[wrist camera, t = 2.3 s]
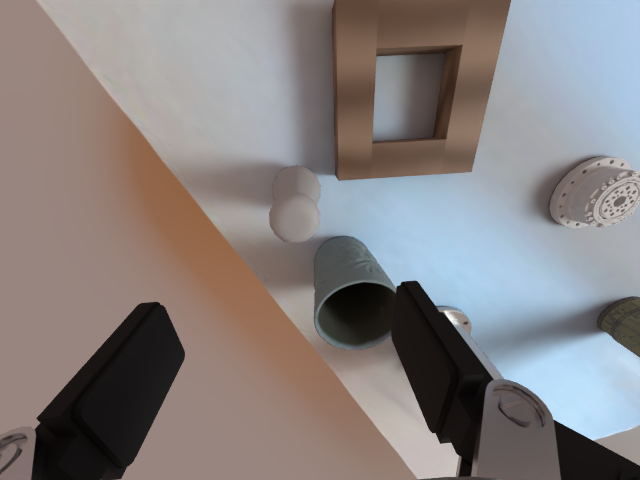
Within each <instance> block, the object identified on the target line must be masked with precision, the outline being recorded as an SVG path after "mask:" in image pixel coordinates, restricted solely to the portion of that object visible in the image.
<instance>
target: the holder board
mask: <svg viewBox="0 0 640 480" xmlns="http://www.w3.org/2000/svg"><path fill="white" fill-rule="evenodd" d="M510 3H511V0H335V1H334V5H333V9H332V33H333V82H334V130H335V176H336V177H337V179H338V180H339V181H340V180H355V179H371V178H386V177H401V176H417V175H432V174H447V173H463V172H472V167H473V163H474V159H475V154H476V150H477V146H478V141H479V137H480V133H481V128H482V124H483V120H484V115H485V111H486V107H487V102H488V98H489V94H490V89H491V85H492V81H493V76H494V72H495V68H496V63H497V59H498V55H499V50H500V46H501V42H502V37H503V33H504V29H505V24H506V20H507V16H508V11H509V7H510ZM433 53H446V56H445V63H444V69H443V76H442V83H441V89H440V96H439V102H438V109H437V116H436V122H435V129H434V136H433V138H423V139H406V140H389V141H372V138H373V116H374V93H375V71H376V56H390V55H412V54H433Z"/></svg>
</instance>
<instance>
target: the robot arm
mask: <svg viewBox="0 0 640 480" xmlns="http://www.w3.org/2000/svg"><path fill="white" fill-rule="evenodd" d="M470 331H471V323H470V321H469V319H468V318H467V316H466V315H465V314H464V313H463V312H462V311H460V310H458V309H456V308H453V307H436V306H435V305H434V303H433V302H432V301H431V299H430V298H429V297H428V295H427V294H426V292H425V291H424V290H423V288H422V287H421V286H420V284H419V283H418V282H417V281H406V282H402V283H401V285H400V286H397V289H396V297H395V305H394V313H393V321H392V329H391V337H392V341H393V343H394V346H395V348H396V351H397V353H398V356H399V358H400V360H401V363H402V365H403V368H404V370H405V372H406V375H407V377H408V380H409V382H410V385H411V387H412V389H413V392H414V394H415V397H416V399H417V401H418V404H419V406H420V409H421V411H422V413H423V416H424V418H425V421H426V423H427V426H428V428H429V430H430V431H431V432H432V433H436V435H437V437H438V440H439V442H440V444H442V443H452V445H453V447H454V449H455V451H456V453H457V454H458V455H459V460H458V466H457V471H456V477H442V478H431V479H419V480H640V466H639V465H637V464H635V463H633V462H632V461H629V460H628V459H626V458H624V457H622V456H620V455H618V454H617V453H615V452H613V451H611V450H609V449H607V448H605V447H604V446H602V445H600V444H598V443H596V442H594V441H592V440H591V439H589V438H587V437H585V436H583V435H581V434H579V433H577V432H576V431H574V430H572V429H570V428H568V427H566V426H564V425H563V424H561V423H559V422H557V421H555V420H553V417H552V414H551V413H550V411H549V409H548V408H547V406H546V405H545V404H544V403H543V401H542V400H541V399H540V398H539V397H538V396H537V395H535V394H534V393H533V392H531V391H530V390H529V389H527V388H526V387H524V386H522V385H520V384H518V383H516V382H513V381H510V380H505V379H504V378H503V376H502V375H501V374H500V372H499V371H498V370H497V369H496V367H495V366H494V365H493V364H492V362H491V361H490V360H489V359H488V357H487V356H486V355H485V353H484V352H483V351H482V350H481V348H480V347H479V346H478V345H477V343H476V342H475V341H474V340H473V338H472V337H471V336H470ZM184 357H185V352H184V349H183V347H182V344H181V342H180V340H179V338H178V336H177V333H176V331H175V329H174V327H173V324H172V322H171V320H170V318H169V315H168V313H167V311H166V309H165V307H164V306H163V305H160V303H158V302H150V303H141V304H139V305H138V306H137V307H136V308H135V309H134V310H133V311H132V312H131V313H130V315H129V316H128V317H127V318H126V319H125V320H124V321H123V322H122V324H121V325H120V326H119V327H118V328H117V329H116V330H115V331H114V332H113V334H112V335H111V336H110V337H109V338H108V339H107V340H106V341H105V342H104V344H103V345H102V346H101V347H100V348H99V349H98V350H97V351H96V353H95V354H94V355H93V356H92V357H91V358H90V359H89V360H88V361H87V363H86V364H85V365H84V366H83V367H82V368H81V369H80V370H79V371H78V373H77V374H76V375H75V376H74V377H73V378H72V380H70V382H69V383H68V384H67V385H66V386H65V387H64V388H63V389H62V390H61V392H60V393H59V394H58V395H57V396H56V397H55V398H54V399H53V401H52V402H51V403H50V404H49V405H48V406H47V407H46V408H45V409H44V411H43V412H42V413H41V414H40V415H39V416H38V417H37V419H38V421H39V422H40V424H39V425H38V426H37V428H36V429H33V428H31V427H20V428H16V429H13V430H11V431H8V432H7V433H4V434H2V435H0V480H116V479H121V478H122V476H123V474H124V472H125V470H126V468H127V466H129V465H130V464H131V463H132V462H133V461H134V459H135V457H136V456H137V454H138V451H139V450H140V448H141V446H142V444H143V442H144V439H145V438H146V435H147V433H148V431H149V429H150V427H151V425H152V423H153V421H154V419H155V417H156V415H157V413H158V411H159V409H160V407H161V405H162V403H163V401H164V399H165V397H166V395H167V393H168V391H169V389H170V387H171V385H172V383H173V381H174V379H175V377H176V375H177V373H178V371H179V369H180V367H181V365H182V363H183V361H184Z"/></svg>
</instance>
